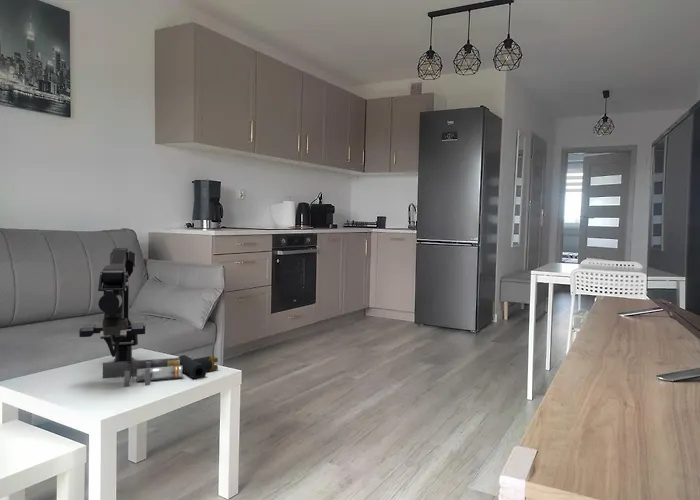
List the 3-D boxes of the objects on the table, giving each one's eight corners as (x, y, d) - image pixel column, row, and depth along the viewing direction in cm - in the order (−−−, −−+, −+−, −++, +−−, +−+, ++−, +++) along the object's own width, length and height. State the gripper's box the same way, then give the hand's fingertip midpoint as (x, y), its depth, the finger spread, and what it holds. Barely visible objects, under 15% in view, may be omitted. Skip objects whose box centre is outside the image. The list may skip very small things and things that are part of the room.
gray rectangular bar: (102, 377, 167) (102, 362, 167) (179, 371, 175) (179, 357, 175) (101, 381, 163) (101, 366, 163) (179, 375, 171) (180, 360, 171)
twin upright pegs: (126, 377, 167) (126, 362, 167) (150, 376, 170) (150, 361, 170) (124, 386, 158) (124, 370, 158) (150, 384, 161) (150, 369, 161)
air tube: (136, 382, 162) (136, 369, 162) (136, 380, 166) (137, 368, 166) (182, 378, 167) (182, 366, 167) (181, 376, 171) (181, 364, 171)
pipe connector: (206, 350, 185) (224, 359, 174) (206, 365, 186) (224, 375, 174) (175, 356, 178) (192, 365, 167) (175, 370, 178) (192, 381, 167)
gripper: (76, 313, 149) (76, 365, 150) (144, 310, 156) (144, 361, 157) (82, 307, 160) (81, 356, 160) (145, 305, 166) (145, 352, 167)
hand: (113, 356), depth 161 cm, fingers closed
